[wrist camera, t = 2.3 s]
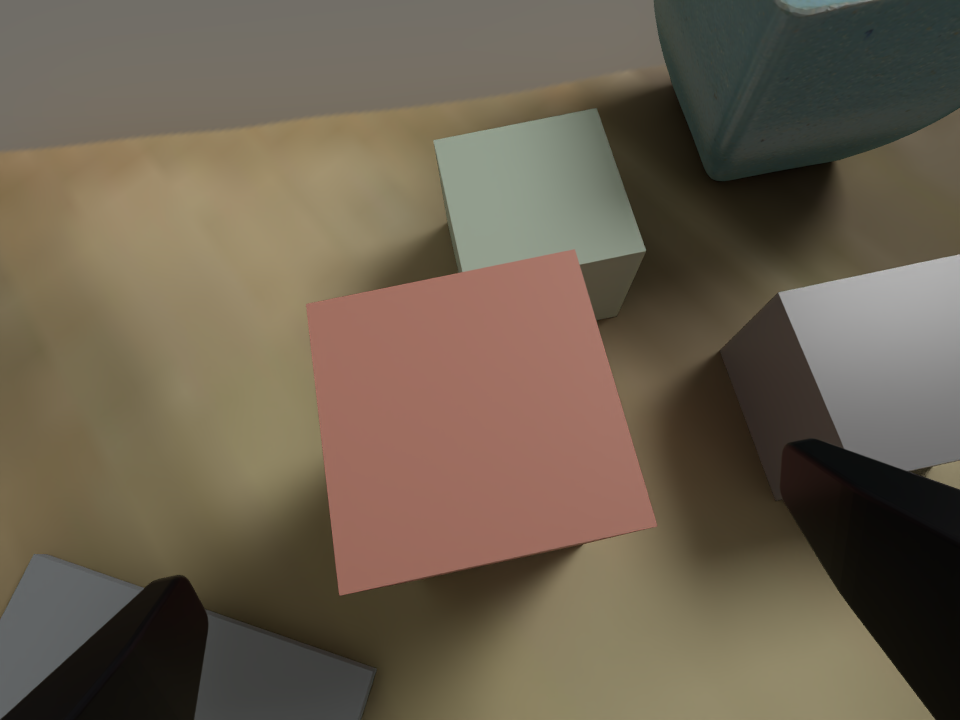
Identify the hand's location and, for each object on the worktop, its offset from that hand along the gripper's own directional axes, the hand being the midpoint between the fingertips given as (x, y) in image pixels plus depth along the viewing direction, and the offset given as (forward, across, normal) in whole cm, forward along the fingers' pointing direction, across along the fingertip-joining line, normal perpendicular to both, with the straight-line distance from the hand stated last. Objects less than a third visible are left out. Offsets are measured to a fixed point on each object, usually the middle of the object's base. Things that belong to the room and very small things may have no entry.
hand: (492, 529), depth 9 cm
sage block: (+13, -3, 0) cm, 14 cm away
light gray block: (+8, -11, +5) cm, 15 cm away
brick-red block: (+8, 0, +5) cm, 10 cm away
